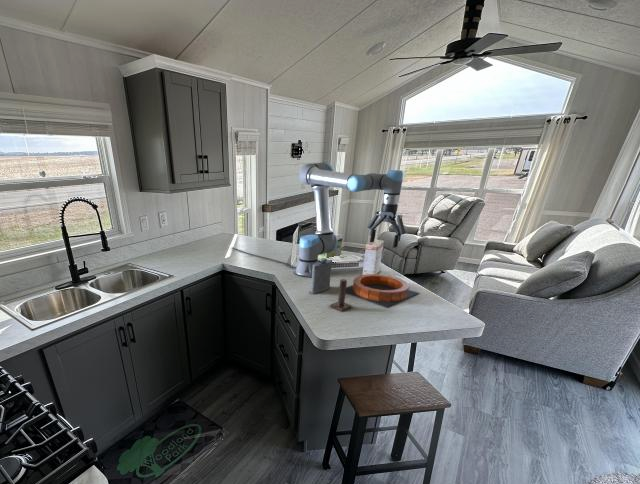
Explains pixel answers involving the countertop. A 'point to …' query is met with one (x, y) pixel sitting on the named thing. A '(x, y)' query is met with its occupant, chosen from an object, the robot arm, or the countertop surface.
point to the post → (341, 297)
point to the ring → (377, 294)
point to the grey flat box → (321, 276)
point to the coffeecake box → (373, 257)
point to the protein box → (334, 253)
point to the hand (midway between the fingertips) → (383, 244)
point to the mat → (380, 287)
